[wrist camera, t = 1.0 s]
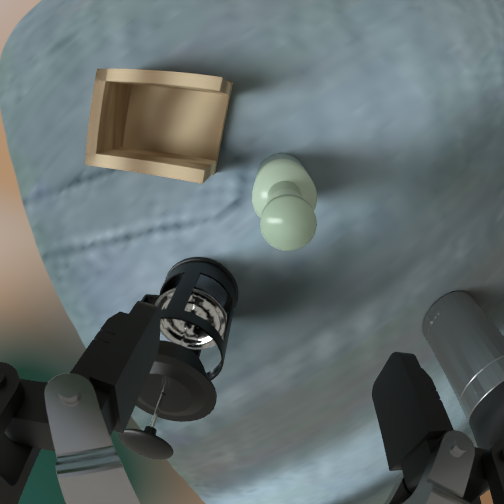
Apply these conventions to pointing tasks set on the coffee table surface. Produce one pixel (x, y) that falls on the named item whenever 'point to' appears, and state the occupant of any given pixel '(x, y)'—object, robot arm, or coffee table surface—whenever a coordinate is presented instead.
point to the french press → (183, 352)
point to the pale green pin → (285, 202)
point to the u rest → (157, 122)
